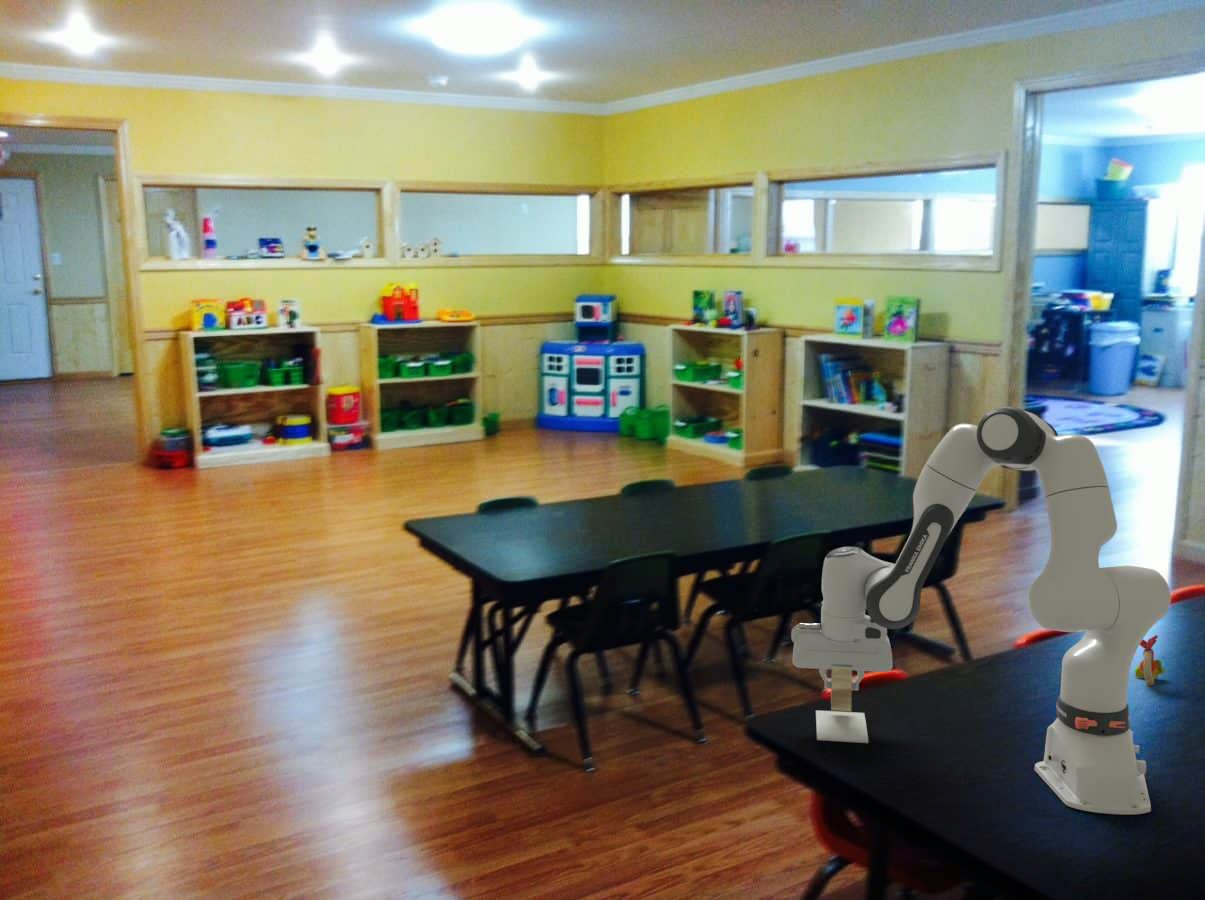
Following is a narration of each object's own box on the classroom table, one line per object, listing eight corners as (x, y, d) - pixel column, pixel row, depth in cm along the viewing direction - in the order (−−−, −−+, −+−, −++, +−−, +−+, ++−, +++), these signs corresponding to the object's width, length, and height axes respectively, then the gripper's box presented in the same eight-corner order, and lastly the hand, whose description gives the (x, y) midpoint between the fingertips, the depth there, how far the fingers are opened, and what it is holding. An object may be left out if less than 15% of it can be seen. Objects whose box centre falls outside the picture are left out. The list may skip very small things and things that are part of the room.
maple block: (851, 711, 225) (852, 665, 224) (831, 710, 226) (832, 664, 224) (850, 703, 229) (851, 658, 228) (830, 702, 230) (831, 657, 228)
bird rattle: (1164, 696, 242) (1165, 668, 248) (1168, 659, 236) (1168, 631, 243) (1133, 692, 244) (1134, 664, 251) (1135, 655, 239) (1136, 628, 245)
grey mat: (868, 743, 216) (868, 741, 216) (816, 740, 217) (816, 738, 217) (864, 714, 229) (864, 712, 229) (815, 712, 231) (815, 710, 231)
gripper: (791, 627, 223) (790, 691, 226) (894, 632, 220) (892, 697, 222) (791, 617, 229) (790, 680, 232) (891, 622, 226) (890, 685, 228)
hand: (841, 688), depth 227 cm, fingers closed on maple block, 4 cm apart
